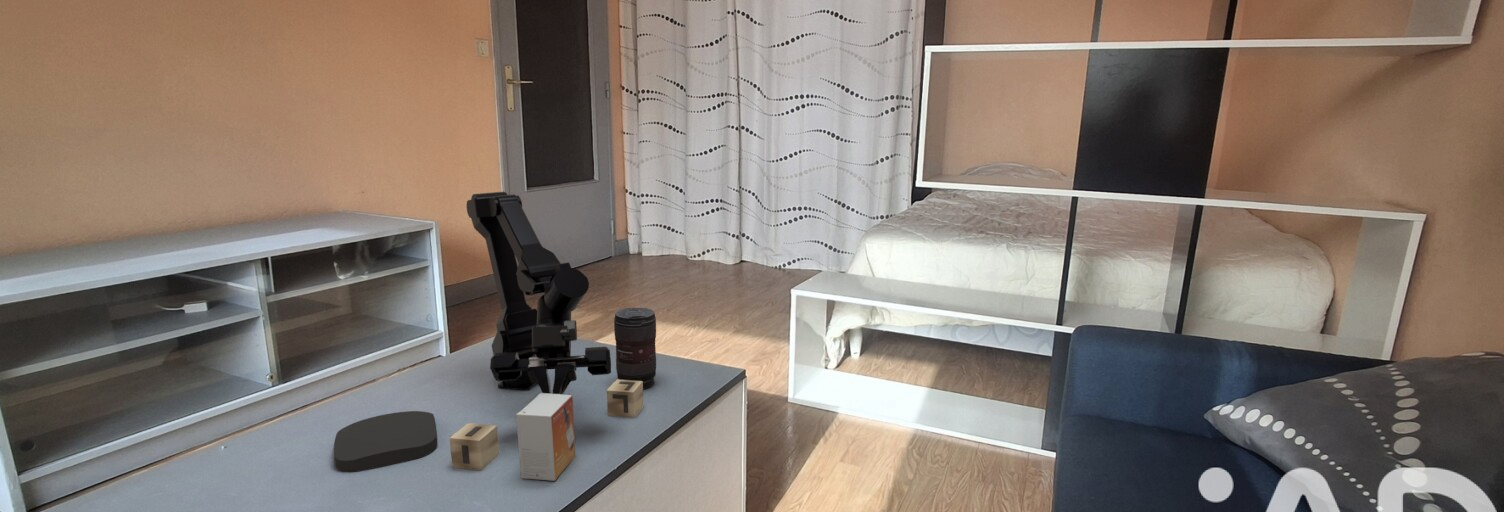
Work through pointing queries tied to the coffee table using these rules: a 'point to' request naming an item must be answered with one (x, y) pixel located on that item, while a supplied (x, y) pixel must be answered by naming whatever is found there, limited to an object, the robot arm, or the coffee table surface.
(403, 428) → the media streaming box
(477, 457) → the marked block left
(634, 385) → the marked block right
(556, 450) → the small box
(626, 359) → the camera lens
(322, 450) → the coffee table surface
